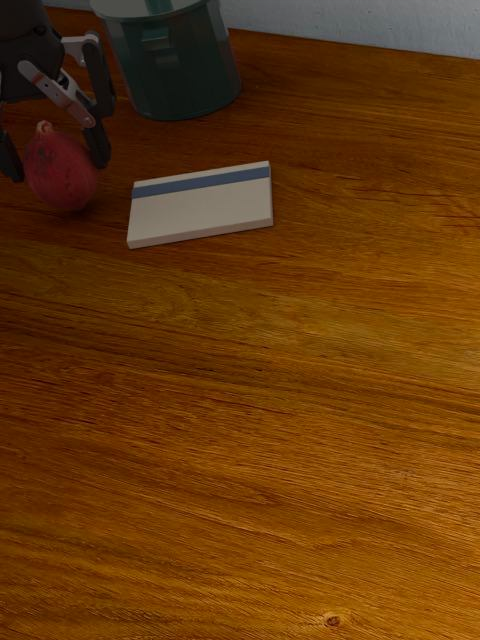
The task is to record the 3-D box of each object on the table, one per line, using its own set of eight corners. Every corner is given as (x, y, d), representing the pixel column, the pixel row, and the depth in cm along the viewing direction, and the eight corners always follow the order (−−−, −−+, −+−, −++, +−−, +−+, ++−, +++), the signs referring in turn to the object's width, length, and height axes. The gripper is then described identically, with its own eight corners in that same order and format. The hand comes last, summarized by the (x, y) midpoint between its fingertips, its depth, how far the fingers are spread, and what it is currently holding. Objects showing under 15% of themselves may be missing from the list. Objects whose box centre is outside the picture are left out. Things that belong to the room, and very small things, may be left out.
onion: (94, 229, 90) (55, 140, 84) (33, 227, 91) (-10, 139, 85) (122, 193, 94) (87, 106, 88) (63, 192, 95) (25, 106, 89)
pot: (127, 141, 101) (89, 40, 94) (138, 68, 112) (104, -27, 104) (242, 123, 101) (213, 21, 94) (242, 53, 112) (215, -43, 105)
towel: (129, 249, 88) (125, 240, 87) (137, 189, 94) (133, 180, 94) (273, 226, 89) (270, 216, 88) (270, 168, 95) (268, 159, 95)
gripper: (74, -70, 80) (149, 138, 93) (-120, -42, 79) (-17, 164, 92) (63, -35, 75) (144, 179, 88) (-143, -5, 74) (-32, 208, 87)
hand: (61, 171), depth 90 cm, fingers open, 6 cm apart
